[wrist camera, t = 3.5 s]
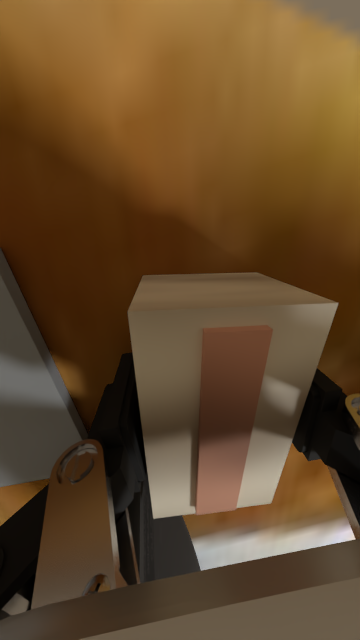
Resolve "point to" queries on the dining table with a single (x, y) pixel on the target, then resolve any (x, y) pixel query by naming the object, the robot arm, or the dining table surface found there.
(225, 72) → the dining table surface
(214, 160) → the dining table surface
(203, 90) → the dining table surface
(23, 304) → the mat
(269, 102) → the dining table surface
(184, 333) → the card box
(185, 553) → the magazine
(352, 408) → the robot arm
